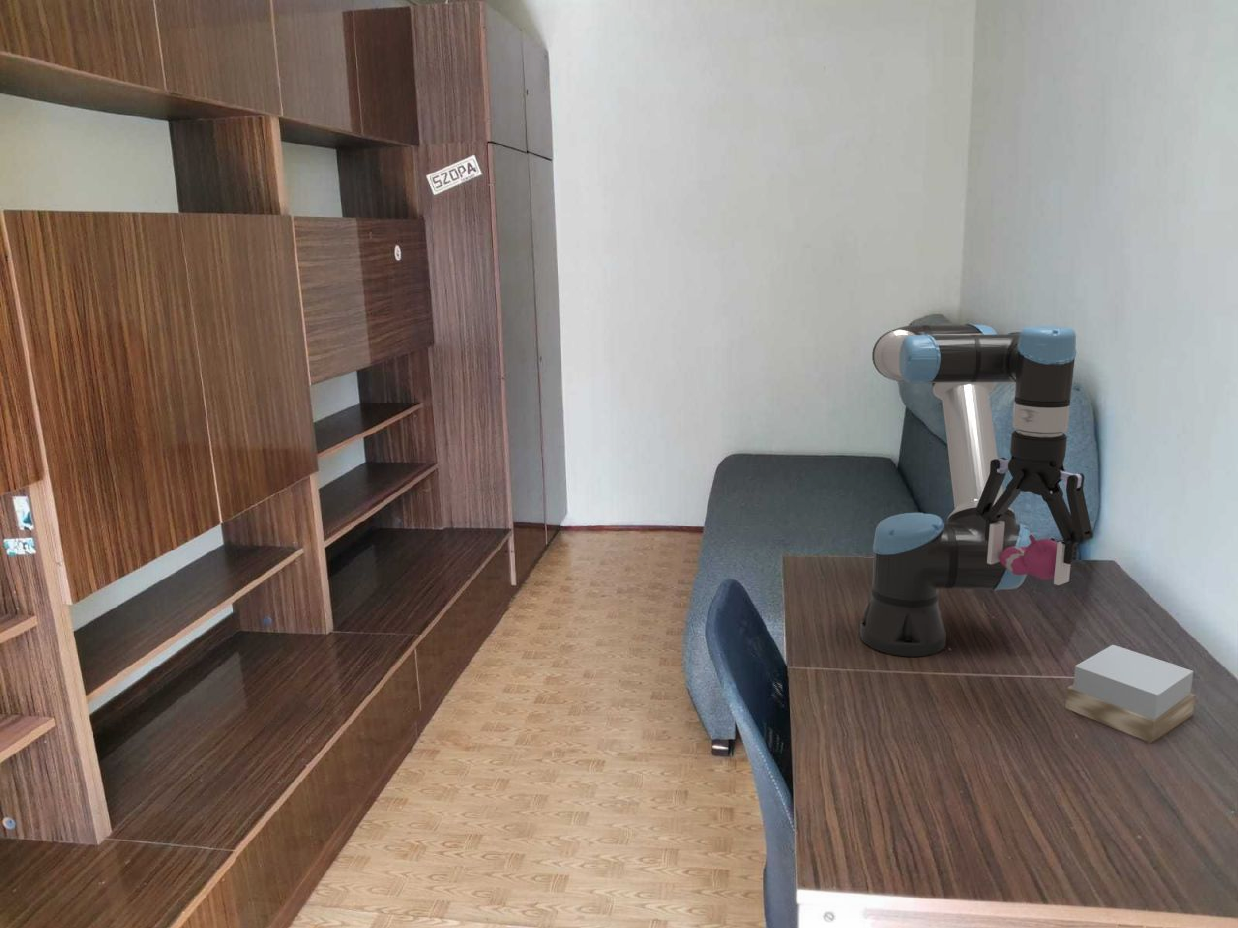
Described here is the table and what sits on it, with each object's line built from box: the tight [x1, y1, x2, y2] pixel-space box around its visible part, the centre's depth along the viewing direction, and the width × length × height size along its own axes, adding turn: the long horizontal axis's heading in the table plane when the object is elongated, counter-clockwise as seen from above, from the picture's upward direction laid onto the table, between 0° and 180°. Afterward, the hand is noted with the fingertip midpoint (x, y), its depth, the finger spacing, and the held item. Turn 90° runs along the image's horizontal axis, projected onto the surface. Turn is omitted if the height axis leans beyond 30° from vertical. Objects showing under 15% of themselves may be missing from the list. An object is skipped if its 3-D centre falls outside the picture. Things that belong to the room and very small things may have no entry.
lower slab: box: [1064, 684, 1196, 744], centre depth 142 cm, size 13×13×4 cm
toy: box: [1000, 534, 1058, 580], centre depth 141 cm, size 11×9×10 cm
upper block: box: [1072, 644, 1194, 720], centre depth 140 cm, size 12×12×4 cm
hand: (1026, 572), depth 141 cm, fingers closed on toy, 10 cm apart
